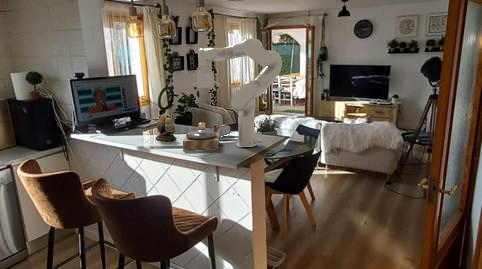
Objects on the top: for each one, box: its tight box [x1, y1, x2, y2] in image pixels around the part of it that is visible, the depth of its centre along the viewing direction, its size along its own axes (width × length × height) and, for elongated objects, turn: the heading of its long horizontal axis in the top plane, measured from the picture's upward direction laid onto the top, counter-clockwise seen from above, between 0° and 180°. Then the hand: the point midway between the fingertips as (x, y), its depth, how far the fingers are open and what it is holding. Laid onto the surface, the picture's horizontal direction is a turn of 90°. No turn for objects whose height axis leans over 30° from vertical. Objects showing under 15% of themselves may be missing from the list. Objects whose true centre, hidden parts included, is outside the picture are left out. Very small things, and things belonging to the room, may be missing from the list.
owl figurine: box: [155, 113, 178, 143], centre depth 228 cm, size 18×12×17 cm, turn 47°
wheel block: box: [182, 133, 220, 152], centre depth 210 cm, size 20×20×6 cm
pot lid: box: [185, 122, 217, 139], centre depth 208 cm, size 18×18×6 cm
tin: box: [213, 123, 232, 137], centre depth 233 cm, size 15×3×8 cm, turn 141°
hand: (206, 97), depth 216 cm, fingers open, 9 cm apart
